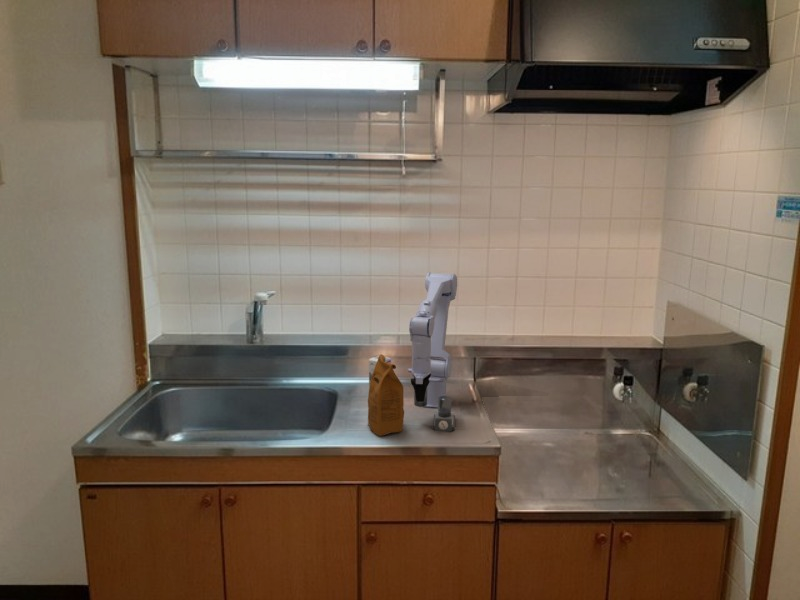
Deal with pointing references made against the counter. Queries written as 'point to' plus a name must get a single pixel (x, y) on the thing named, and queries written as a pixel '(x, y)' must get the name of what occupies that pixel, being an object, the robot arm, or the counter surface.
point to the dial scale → (444, 423)
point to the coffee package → (385, 399)
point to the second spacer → (420, 404)
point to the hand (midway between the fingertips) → (420, 398)
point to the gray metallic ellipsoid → (444, 406)
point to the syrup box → (373, 363)
